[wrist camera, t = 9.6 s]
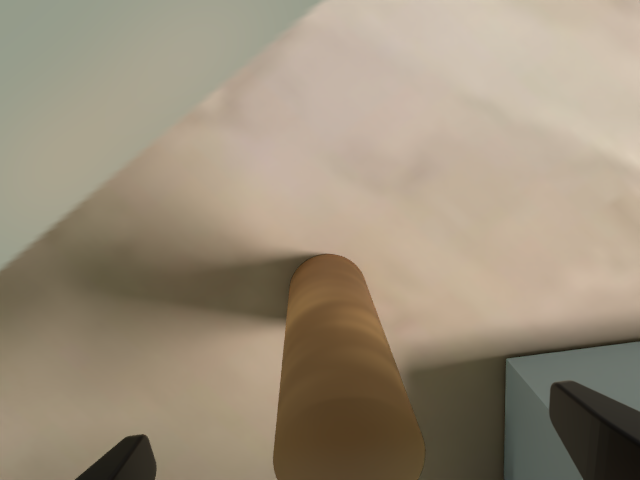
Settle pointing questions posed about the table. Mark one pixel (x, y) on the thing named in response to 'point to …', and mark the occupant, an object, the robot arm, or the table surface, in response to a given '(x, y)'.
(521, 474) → the block
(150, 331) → the table surface
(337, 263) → the dowel
